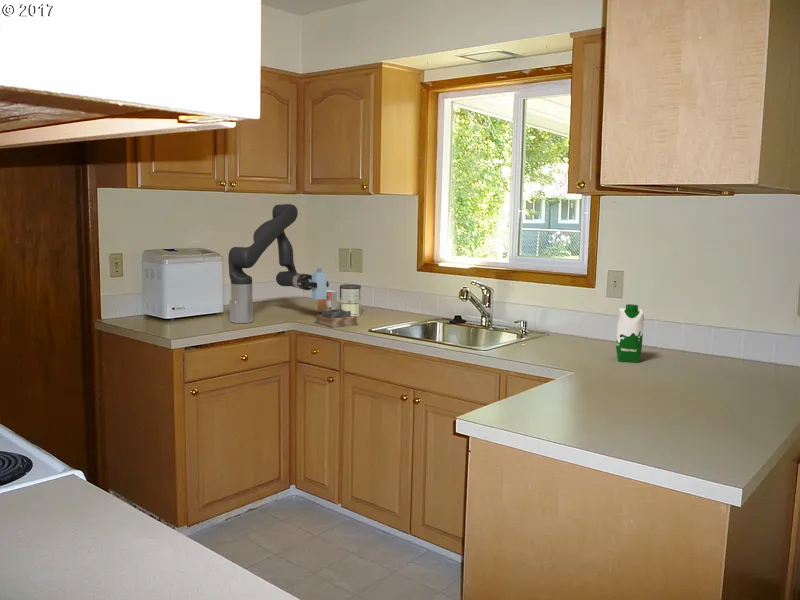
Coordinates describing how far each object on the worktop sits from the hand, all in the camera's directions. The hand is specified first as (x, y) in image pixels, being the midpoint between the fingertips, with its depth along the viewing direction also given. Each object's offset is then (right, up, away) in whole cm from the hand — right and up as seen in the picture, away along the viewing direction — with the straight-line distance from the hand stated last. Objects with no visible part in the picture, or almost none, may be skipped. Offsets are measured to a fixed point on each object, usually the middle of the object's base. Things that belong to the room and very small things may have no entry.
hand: (322, 285), depth 312 cm
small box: (-1, -13, +28) cm, 30 cm away
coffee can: (+11, -14, +21) cm, 27 cm away
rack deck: (+7, -17, -5) cm, 19 cm away
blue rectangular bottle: (-2, -6, +3) cm, 7 cm away
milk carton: (+116, -28, -67) cm, 137 cm away
